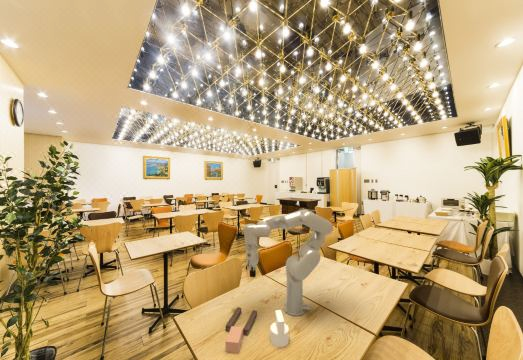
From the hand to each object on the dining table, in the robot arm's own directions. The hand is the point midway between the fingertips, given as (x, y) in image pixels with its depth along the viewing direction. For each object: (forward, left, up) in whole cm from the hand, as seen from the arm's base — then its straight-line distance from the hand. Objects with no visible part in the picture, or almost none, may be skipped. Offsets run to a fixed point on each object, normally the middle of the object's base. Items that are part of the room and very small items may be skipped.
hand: (252, 276), depth 123 cm
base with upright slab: (-19, +15, -22) cm, 33 cm away
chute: (+3, +9, -22) cm, 24 cm away
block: (+1, +24, -22) cm, 32 cm away
